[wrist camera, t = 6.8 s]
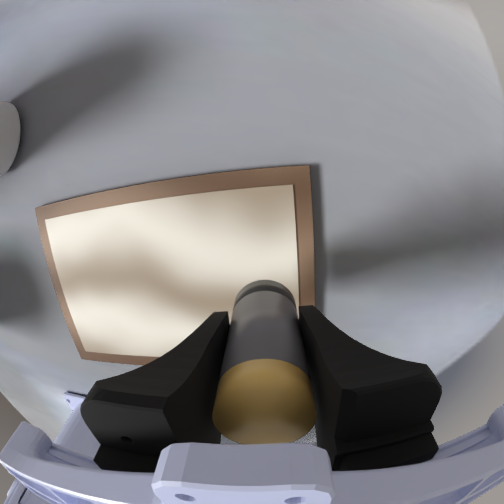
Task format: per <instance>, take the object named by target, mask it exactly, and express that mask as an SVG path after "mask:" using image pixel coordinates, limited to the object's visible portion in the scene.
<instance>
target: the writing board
mask: <svg viewBox="0 0 504 504" xmlns="http://www.w3.org/2000/svg"><path fill="white" fill-rule="evenodd" d="M35 211H36V216H37V222H38V227H39V232H40V236H41V241H42V245H43V249H44V253H45V257H46V261H47V265H48V268H49V272H50V276H51V279H52V282H53V285H54V289H55V292H56V295H57V298H58V301H59V304H60V307H61V309H62V312H63V315H64V318H65V320H66V323H67V326H68V328H69V331H70V333H71V336H72V338H73V340H74V343H75V345H76V347H77V350H78V352H79V354H80V356H81V359H86V360H93V361H102V362H111V363H121V364H133V365H146V364H148V363H150V362H151V361H153V360H155V359H157V358H159V357H161V356H162V355H164V354H165V353H167V352H169V351H170V350H172V349H173V348H174V347H176V346H177V345H178V344H180V343H181V342H182V341H183V340H184V339H186V338H187V337H188V336H189V335H190V334H192V333H193V332H194V331H195V330H196V329H197V328H198V327H199V326H200V325H201V324H202V323H203V322H204V321H205V320H206V319H207V318H208V317H209V316H210V315H211V314H212V313H213V312H221V311H228V316H229V322H231V317H232V312H233V307H234V302H235V299H236V296H237V294H238V293H239V291H240V290H241V289H242V288H243V287H244V286H246V285H247V284H249V283H251V282H254V281H258V280H272V281H276V282H279V283H281V284H283V285H284V286H285V287H287V288H288V289H289V290H290V292H291V293H292V295H293V297H294V299H295V303H296V308H297V313H298V318H299V306H307V305H313V306H314V307H315V274H314V237H313V215H312V197H311V181H310V167H309V165H302V166H286V167H272V168H260V169H249V170H239V171H229V172H220V173H212V174H204V175H196V176H189V177H182V178H175V179H169V180H162V181H156V182H150V183H144V184H139V185H133V186H128V187H123V188H118V189H113V190H108V191H103V192H98V193H94V194H89V195H85V196H80V197H76V198H72V199H68V200H64V201H60V202H56V203H52V204H48V205H44V206H41V207H37V208H35Z"/></svg>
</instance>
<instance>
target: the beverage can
mask: <svg viewBox="0 0 504 504" xmlns="http://www.w3.org/2000/svg"><path fill="white" fill-rule="evenodd" d="M20 135H21V127H20V119H19V114H18V111H17V109H16V107H15V106H14V105H13V104H11V103H9V102H4V101H0V177H1V176H3V175H4V174H5V173H6V172H7V171H8V170H9V168H10V167H11V165H12V163H13V161H14V159H15V156H16V154H17V151H18V147H19V143H20Z"/></svg>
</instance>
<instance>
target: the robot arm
mask: <svg viewBox="0 0 504 504" xmlns="http://www.w3.org/2000/svg"><path fill="white" fill-rule="evenodd" d="M299 324H300V329H301V334H302V338H303V343H304V348H305V353H306V358H307V364H308V369H309V374H310V380H311V385H312V391H313V396H314V402H315V407H316V413H317V418H316V422H315V429H316V438H317V447H316V446H314V445H312V444H309V443H290V442H288V443H272V444H220V441H221V433H220V432H219V431H218V430H217V428H216V427H215V425H214V423H213V419H212V414H213V408H214V403H215V398H216V393H217V388H218V383H219V378H220V373H221V367H222V362H223V357H224V352H225V347H226V342H227V337H228V332H229V327H230V322H229V316H228V311H221V312H213V313H212V314H211V315H210V316H209V317H208V318H207V319H206V320H205V321H204V322H203V323H202V324H201V325H200V326H199V327H198V328H197V329H196V330H195V331H194V332H193V333H192V334H190V335H189V336H188V337H187V338H186V339H184V340H183V341H182V342H181V343H180V344H178V345H177V346H176V347H174V348H173V349H172V350H170V351H169V352H167V353H165V354H164V355H162V356H161V357H159V358H157V359H155V360H153V361H151V362H150V363H148V364H146V365H144V366H142V367H139V368H137V369H135V370H132V371H130V372H127V373H124V374H121V375H118V376H115V377H111V378H107V379H103V380H99V381H96V382H95V384H94V385H93V387H92V388H91V390H90V391H89V393H88V395H87V396H86V397H85V396H80V395H76V394H71V393H67V392H64V394H63V397H64V398H65V400H66V402H67V403H68V405H69V406H70V408H71V409H72V411H73V412H72V413H71V415H70V416H69V418H68V419H67V421H66V423H65V424H64V426H63V427H62V429H61V431H60V432H59V434H58V435H57V437H56V439H55V440H54V442H53V443H52V441H51V439H50V438H49V437H48V435H47V434H46V433H45V432H44V431H42V430H41V429H40V428H38V427H36V426H33V425H31V424H29V423H27V422H23V421H22V422H21V424H20V426H19V427H18V428H17V430H16V431H15V432H14V434H13V435H12V437H11V438H10V439H9V441H8V442H7V444H6V446H5V447H4V448H3V450H2V451H1V453H0V463H1V464H2V465H3V466H4V467H5V468H6V469H7V470H8V471H9V472H10V473H11V474H12V475H13V476H14V477H15V478H16V479H15V480H14V482H13V484H12V486H11V488H10V489H9V491H8V493H7V498H6V500H5V502H4V504H468V503H470V502H471V501H473V500H475V499H476V498H478V497H480V496H481V495H483V494H485V493H486V492H488V491H489V490H491V489H492V488H494V487H495V486H497V485H498V484H500V483H501V482H503V481H504V404H503V405H502V406H500V407H499V408H497V409H496V410H495V411H494V412H493V413H492V415H491V416H490V418H489V420H488V422H487V424H485V425H483V426H481V427H479V428H477V429H476V430H473V431H471V432H469V433H467V434H465V435H463V436H460V437H458V438H456V439H454V440H451V441H449V442H447V443H444V444H441V445H439V446H438V445H437V443H436V441H435V439H434V437H433V435H432V433H431V432H432V431H433V430H434V426H433V424H432V422H431V420H430V419H431V417H432V415H433V413H434V411H435V409H436V407H437V405H438V403H439V400H440V397H441V394H442V389H441V385H440V384H439V382H438V380H437V378H436V377H435V375H434V374H433V372H432V371H431V370H430V368H429V367H428V366H427V364H421V363H416V362H410V361H405V360H401V359H398V358H395V357H391V356H388V355H386V354H383V353H380V352H378V351H376V350H373V349H371V348H369V347H367V346H365V345H363V344H361V343H359V342H358V341H356V340H354V339H353V338H351V337H349V336H348V335H347V334H345V333H344V332H342V331H341V330H340V329H338V328H337V327H336V326H335V325H334V324H332V323H331V322H330V321H329V320H328V319H327V318H326V317H325V316H324V315H323V314H322V313H321V312H320V311H319V310H318V309H317V308H316V307H314V306H313V305H307V306H299Z"/></svg>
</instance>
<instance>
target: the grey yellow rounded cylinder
mask: <svg viewBox="0 0 504 504" xmlns="http://www.w3.org/2000/svg"><path fill="white" fill-rule="evenodd" d="M316 418H317V413H316V407H315V402H314V396H313V391H312V385H311V380H310V374H309V369H308V364H307V358H306V353H305V348H304V343H303V338H302V334H301V329H300V324H299V318H298V313H297V308H296V303H295V299H294V297H293V295H292V293H291V292H290V290H289V289H288V288H287V287H285V286H284V285H283V284H281V283H279V282H276V281H272V280H258V281H254V282H251V283H249V284H247V285H246V286H244V287H243V288H242V289H241V290H240V291H239V293H238V294H237V296H236V299H235V302H234V307H233V312H232V317H231V322H230V327H229V332H228V337H227V342H226V347H225V352H224V357H223V362H222V367H221V373H220V378H219V383H218V388H217V393H216V398H215V403H214V408H213V414H212V419H213V423H214V425H215V427H216V428H217V430H218V431H219V432H220V433H221V434H223V435H224V436H225V437H227V438H228V439H230V440H232V441H234V442H237V443H240V444H272V443H288V442H290V443H291V442H294V441H296V440H298V439H300V438H301V437H303V436H304V435H306V434H307V433H308V432H309V431H310V430H311V429H312V428H313V426H314V424H315V422H316Z"/></svg>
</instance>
